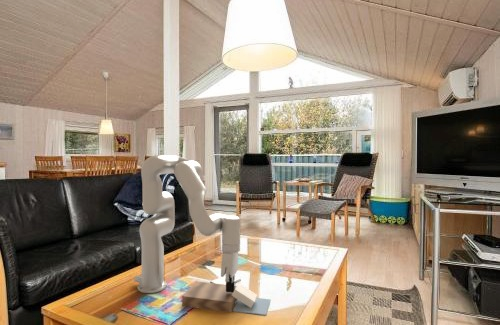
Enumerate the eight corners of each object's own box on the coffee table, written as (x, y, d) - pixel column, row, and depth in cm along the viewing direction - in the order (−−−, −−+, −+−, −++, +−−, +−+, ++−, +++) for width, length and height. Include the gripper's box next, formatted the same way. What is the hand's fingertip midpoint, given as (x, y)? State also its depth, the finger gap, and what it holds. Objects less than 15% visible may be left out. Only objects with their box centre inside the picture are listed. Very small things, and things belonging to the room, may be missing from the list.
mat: (232, 311, 115) (232, 310, 115) (240, 296, 127) (240, 295, 127) (265, 315, 112) (266, 314, 112) (270, 300, 124) (270, 299, 124)
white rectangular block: (231, 295, 118) (234, 289, 118) (235, 288, 124) (238, 282, 124) (250, 308, 117) (254, 301, 116) (253, 300, 123) (257, 294, 122)
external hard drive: (209, 284, 139) (229, 276, 148) (221, 290, 134) (240, 281, 143) (210, 281, 139) (229, 273, 148) (221, 286, 134) (240, 278, 143)
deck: (182, 305, 118) (182, 296, 118) (195, 290, 132) (196, 281, 132) (230, 312, 114) (231, 302, 114) (239, 295, 128) (239, 286, 128)
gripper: (227, 240, 129) (226, 282, 129) (216, 251, 114) (215, 298, 115) (244, 242, 127) (243, 284, 128) (235, 253, 113) (234, 301, 113)
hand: (230, 291), depth 121 cm, fingers closed
